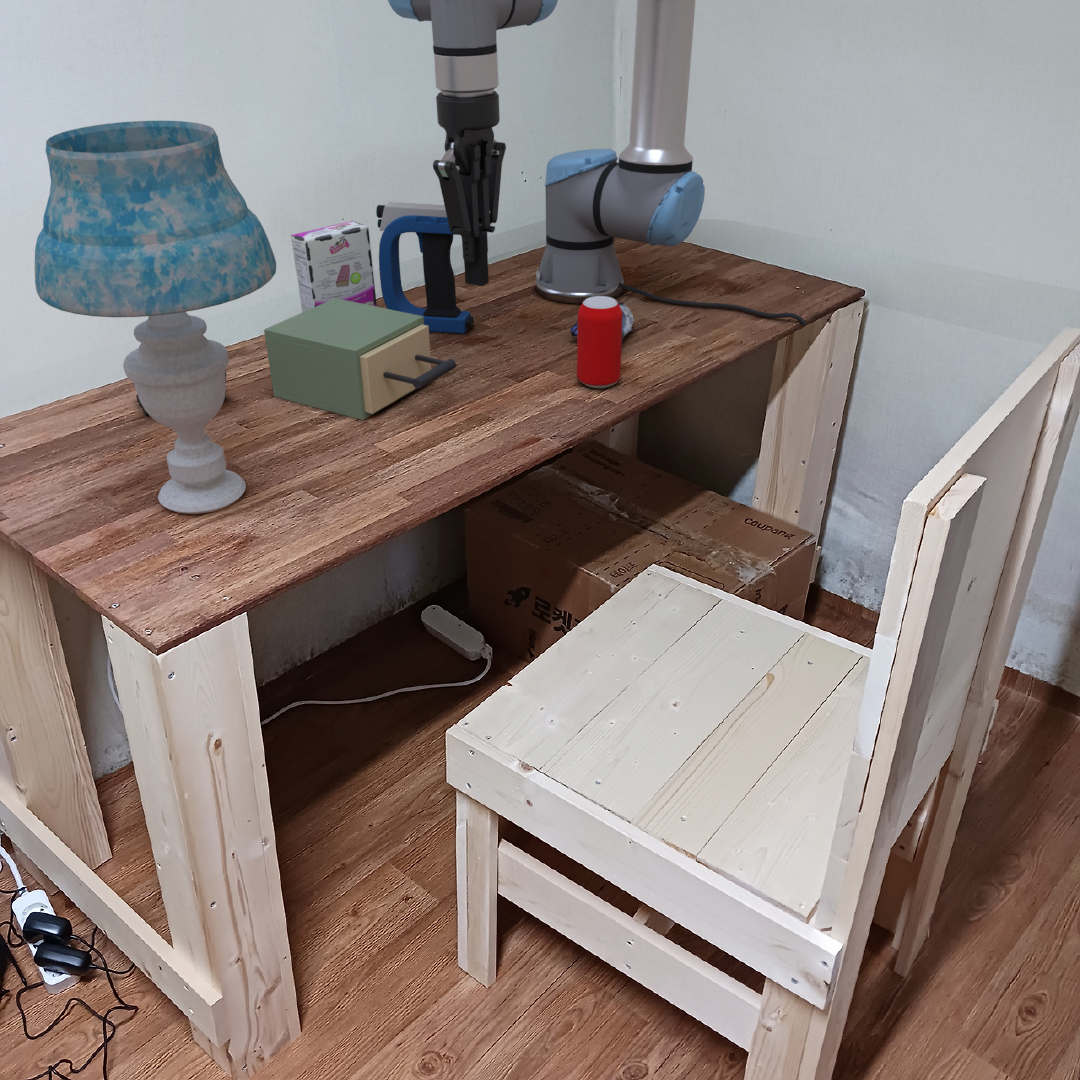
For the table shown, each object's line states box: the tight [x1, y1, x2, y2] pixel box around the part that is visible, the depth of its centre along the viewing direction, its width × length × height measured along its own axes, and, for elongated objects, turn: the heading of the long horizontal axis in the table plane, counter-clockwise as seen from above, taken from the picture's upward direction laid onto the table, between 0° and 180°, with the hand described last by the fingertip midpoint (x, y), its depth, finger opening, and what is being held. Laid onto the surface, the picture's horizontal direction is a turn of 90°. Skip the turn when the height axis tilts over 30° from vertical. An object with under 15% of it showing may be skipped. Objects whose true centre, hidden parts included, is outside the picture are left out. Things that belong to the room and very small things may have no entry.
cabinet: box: [263, 298, 424, 421], centre depth 148 cm, size 16×15×10 cm
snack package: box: [570, 295, 635, 345], centre depth 166 cm, size 12×6×12 cm
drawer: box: [360, 325, 457, 415], centre depth 146 cm, size 21×14×8 cm, turn 59°
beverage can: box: [576, 296, 623, 389], centre depth 149 cm, size 6×6×12 cm
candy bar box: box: [290, 220, 378, 313], centre depth 166 cm, size 11×5×16 cm, turn 131°
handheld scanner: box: [375, 201, 475, 335], centre depth 166 cm, size 5×16×20 cm, turn 78°
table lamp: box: [34, 120, 277, 515], centre depth 114 cm, size 24×24×40 cm
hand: (477, 282), depth 140 cm, fingers closed
